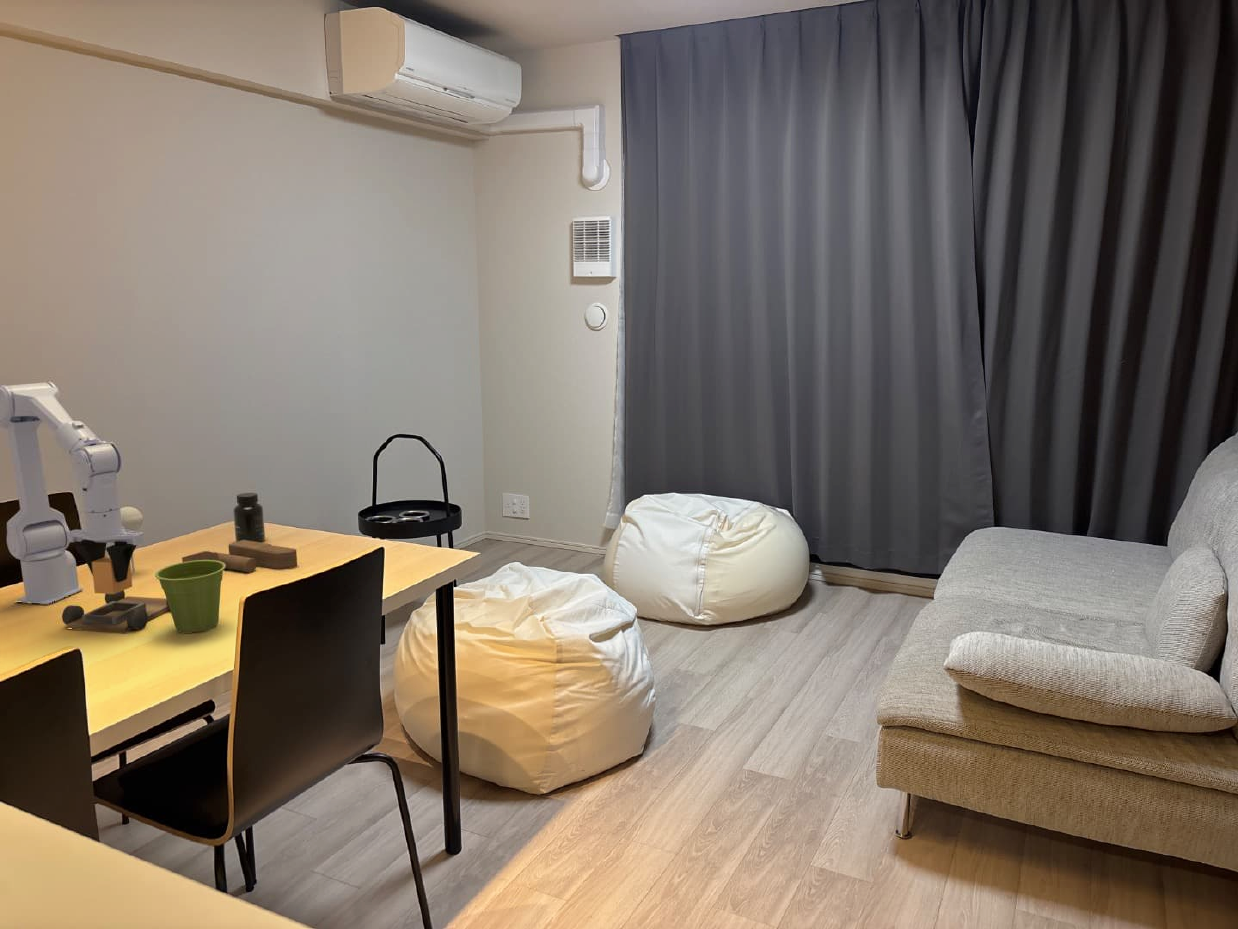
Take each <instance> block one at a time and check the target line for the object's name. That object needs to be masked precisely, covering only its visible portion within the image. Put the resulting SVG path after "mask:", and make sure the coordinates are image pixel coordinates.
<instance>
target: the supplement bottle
mask: <svg viewBox="0 0 1238 929" xmlns="http://www.w3.org/2000/svg"><path fill="white" fill-rule="evenodd" d="M258 502H259V496H258V493H257V492H256V493H255V492H243V493H238V494H237V495H236V503H237V505H235V506H234V508H233V512H232V513H233V522H234V523H233V524H234V534H235V536H234V537H235V542H238V541H241V540H247V541H253V542H260V543H264V541H265V539H266V533H265V520H264V509H263V506H262V505H261V504H260V503H258Z"/></svg>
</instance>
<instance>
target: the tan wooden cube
mask: <svg viewBox="0 0 1238 929" xmlns="http://www.w3.org/2000/svg"><path fill="white" fill-rule="evenodd" d="M92 570H93V575H92V578H93V590H94V594H101V595H102V594H104V595H105V594H115V593H118V592H120V591H123V590H124V591H125V590H127V589H130V588H132V587H133V578H132V576H133V575H132V563H131V562H130V563H129V568H128V574H127V579H126V580H123V581H121V582H116V579H115V576H114V570H113V564H112V561H111V558H110V556H109V555H106V556H105V557H104V558H101V559H98V560H95V561H93V562H92Z"/></svg>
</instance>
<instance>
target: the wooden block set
mask: <svg viewBox="0 0 1238 929" xmlns="http://www.w3.org/2000/svg"><path fill="white" fill-rule="evenodd" d="M195 560H216V561H221V562H223V563H225V565H226V567H225V570H226V569H227V570H232V571H238V572H244V573H248V574H249V573H253V572H254V571H255V570H256V569H257V568H258V567H262V568H269V569H274V570H285V569H292V568H295V567H297V566H298V556H297V549H296V548H292V547H287V546H286V547H284V546H280V545H279V546H278V545H272V543H266V542H261V543H260V542H253V541H247V540H241V541H238V542H236V541H235V542H231V543H229V544H228V553H223V552H216V551H209V550H206V551H204V550H202V551H200V552H196V553H193V554H190V555H186V556H183V557H181V563H182V562H188V561H195Z"/></svg>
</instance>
